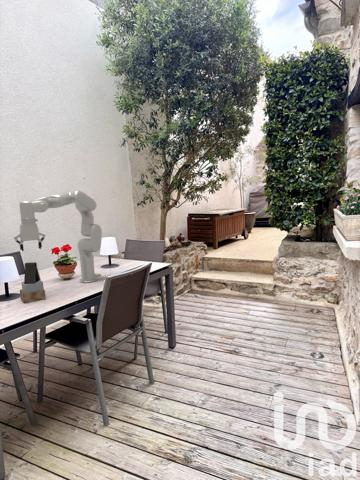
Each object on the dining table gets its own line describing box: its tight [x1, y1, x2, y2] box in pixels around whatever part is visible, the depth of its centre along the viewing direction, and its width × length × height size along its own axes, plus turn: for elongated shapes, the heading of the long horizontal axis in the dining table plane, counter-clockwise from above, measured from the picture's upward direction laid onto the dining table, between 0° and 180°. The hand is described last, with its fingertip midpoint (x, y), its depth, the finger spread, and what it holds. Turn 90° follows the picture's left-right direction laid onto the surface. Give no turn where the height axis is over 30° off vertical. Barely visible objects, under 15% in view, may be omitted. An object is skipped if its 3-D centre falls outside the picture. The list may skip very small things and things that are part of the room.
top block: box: [21, 279, 45, 293], centre depth 184 cm, size 10×10×5 cm
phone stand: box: [23, 261, 42, 284], centre depth 183 cm, size 9×6×12 cm, turn 1°
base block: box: [19, 288, 46, 304], centre depth 184 cm, size 12×12×6 cm
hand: (31, 249), depth 183 cm, fingers open, 9 cm apart
